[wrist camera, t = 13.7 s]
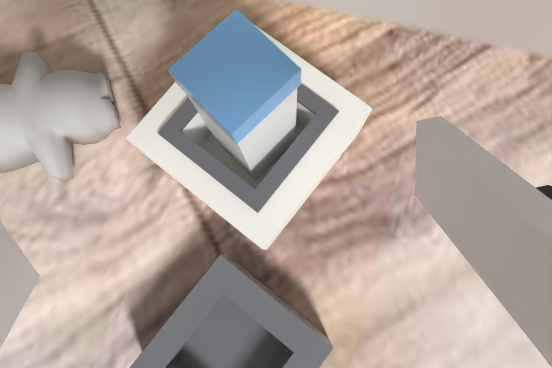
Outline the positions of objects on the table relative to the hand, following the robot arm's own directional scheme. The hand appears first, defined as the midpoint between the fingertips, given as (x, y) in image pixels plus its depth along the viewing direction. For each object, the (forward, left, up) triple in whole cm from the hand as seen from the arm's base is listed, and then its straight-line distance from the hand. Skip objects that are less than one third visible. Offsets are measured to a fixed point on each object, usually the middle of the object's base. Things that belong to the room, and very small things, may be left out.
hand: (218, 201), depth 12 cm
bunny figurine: (-19, -5, -16) cm, 25 cm away
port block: (-4, +5, -16) cm, 17 cm away
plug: (-4, +5, -15) cm, 16 cm away
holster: (+4, -7, -16) cm, 18 cm away
